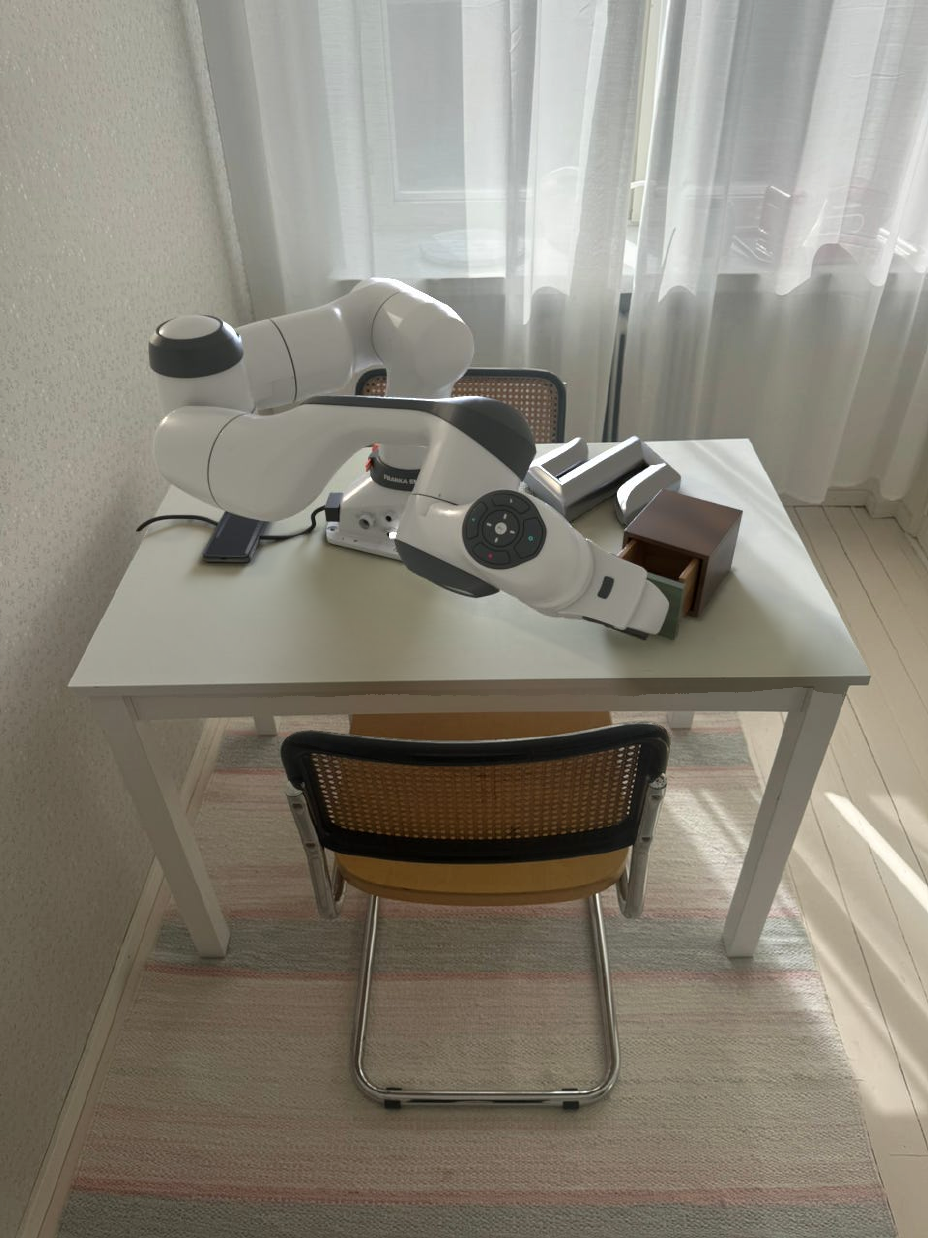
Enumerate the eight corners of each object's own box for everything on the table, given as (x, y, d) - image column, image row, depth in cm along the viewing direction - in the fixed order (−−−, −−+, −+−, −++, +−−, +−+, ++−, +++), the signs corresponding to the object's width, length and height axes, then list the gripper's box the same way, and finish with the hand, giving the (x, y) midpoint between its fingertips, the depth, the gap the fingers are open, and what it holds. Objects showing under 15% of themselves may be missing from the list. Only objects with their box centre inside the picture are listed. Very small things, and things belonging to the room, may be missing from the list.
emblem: (533, 421, 159) (683, 431, 155) (532, 446, 163) (679, 457, 158) (510, 494, 138) (683, 508, 133) (510, 521, 141) (678, 537, 137)
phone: (271, 508, 144) (248, 556, 132) (272, 513, 145) (249, 562, 133) (226, 507, 144) (199, 555, 133) (227, 513, 145) (201, 561, 133)
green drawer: (662, 657, 112) (671, 605, 106) (585, 629, 117) (590, 578, 111) (707, 592, 123) (717, 542, 118) (635, 569, 128) (642, 520, 123)
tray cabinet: (697, 617, 120) (709, 556, 113) (616, 590, 125) (623, 530, 119) (730, 569, 129) (743, 510, 122) (654, 546, 135) (662, 488, 128)
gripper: (459, 570, 89) (504, 597, 102) (637, 634, 80) (663, 655, 93) (481, 515, 89) (524, 549, 102) (661, 573, 80) (684, 602, 93)
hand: (591, 600), depth 97 cm, fingers closed
